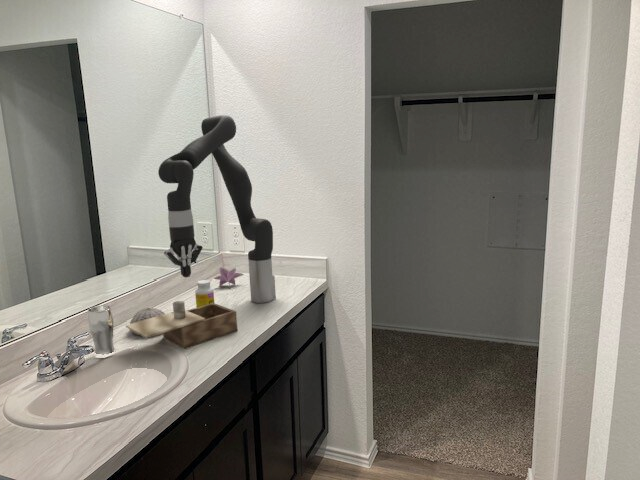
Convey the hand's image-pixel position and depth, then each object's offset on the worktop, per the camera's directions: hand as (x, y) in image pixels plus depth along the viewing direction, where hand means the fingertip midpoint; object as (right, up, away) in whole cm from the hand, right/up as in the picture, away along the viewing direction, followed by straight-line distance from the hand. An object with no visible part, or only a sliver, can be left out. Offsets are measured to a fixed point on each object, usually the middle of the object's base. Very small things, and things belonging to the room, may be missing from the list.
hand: (186, 276), depth 165 cm
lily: (+3, -9, +62) cm, 63 cm away
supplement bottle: (+1, -16, +26) cm, 31 cm away
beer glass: (-23, -24, -7) cm, 34 cm away
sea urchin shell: (-16, -20, +12) cm, 28 cm away
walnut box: (+3, -20, +7) cm, 21 cm away
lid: (-6, -15, -3) cm, 16 cm away
